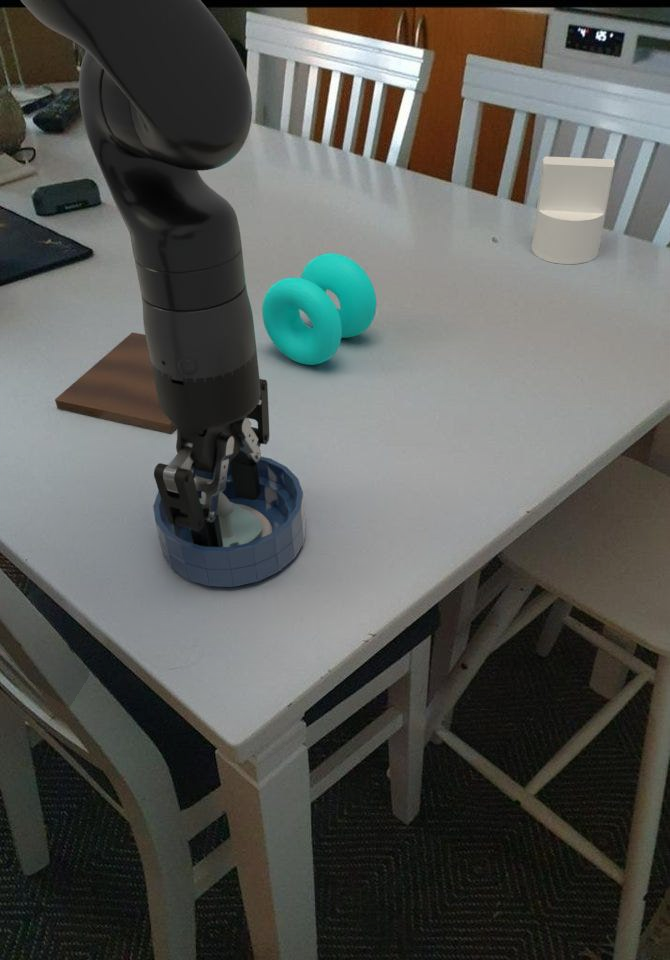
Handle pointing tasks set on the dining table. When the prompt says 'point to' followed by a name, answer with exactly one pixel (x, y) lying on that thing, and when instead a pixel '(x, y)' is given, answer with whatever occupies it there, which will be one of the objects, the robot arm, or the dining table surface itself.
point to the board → (119, 388)
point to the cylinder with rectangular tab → (571, 208)
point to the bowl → (245, 560)
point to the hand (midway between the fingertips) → (229, 521)
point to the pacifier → (239, 522)
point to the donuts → (319, 308)
